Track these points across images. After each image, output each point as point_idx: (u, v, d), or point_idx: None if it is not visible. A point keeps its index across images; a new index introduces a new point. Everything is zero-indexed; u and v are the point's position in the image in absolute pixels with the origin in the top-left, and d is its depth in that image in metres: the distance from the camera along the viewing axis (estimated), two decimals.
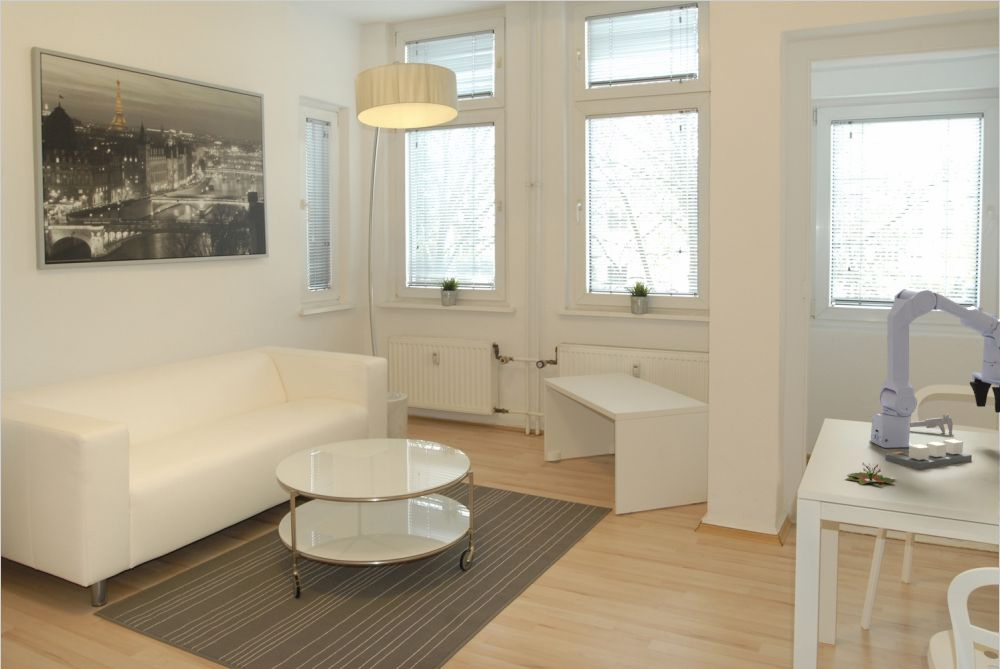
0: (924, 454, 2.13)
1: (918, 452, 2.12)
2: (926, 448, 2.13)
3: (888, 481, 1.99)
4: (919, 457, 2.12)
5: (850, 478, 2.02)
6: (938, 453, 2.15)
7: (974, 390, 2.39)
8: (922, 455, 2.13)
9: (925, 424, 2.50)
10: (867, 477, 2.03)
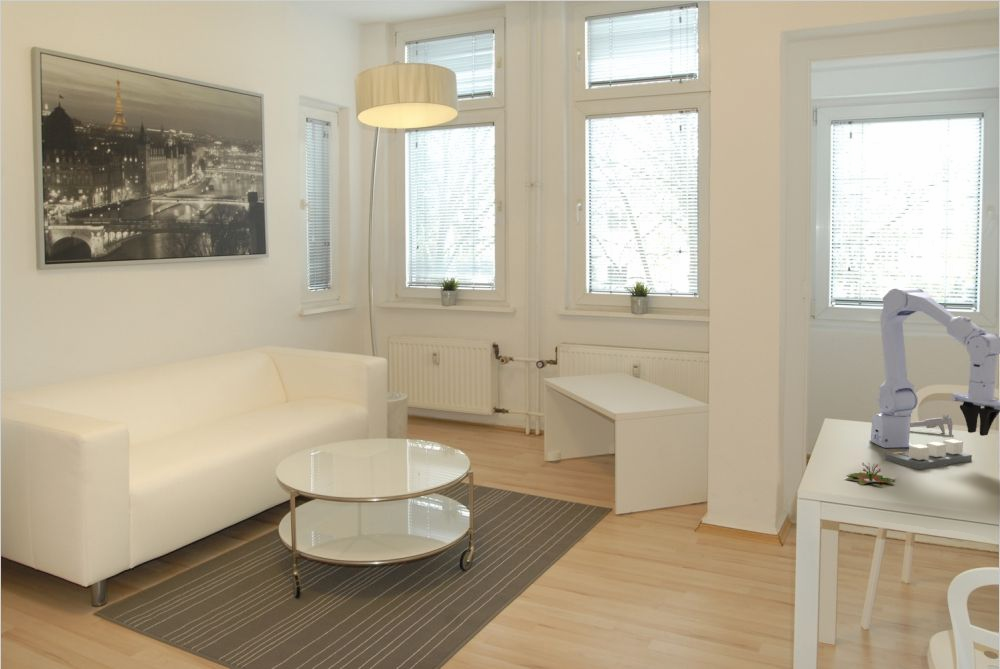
0: (924, 454, 2.13)
1: (918, 452, 2.12)
2: (926, 448, 2.13)
3: (888, 481, 1.99)
4: (919, 457, 2.12)
5: (850, 478, 2.02)
6: (938, 453, 2.15)
7: (966, 415, 2.14)
8: (922, 455, 2.13)
9: (925, 424, 2.50)
10: (867, 477, 2.03)
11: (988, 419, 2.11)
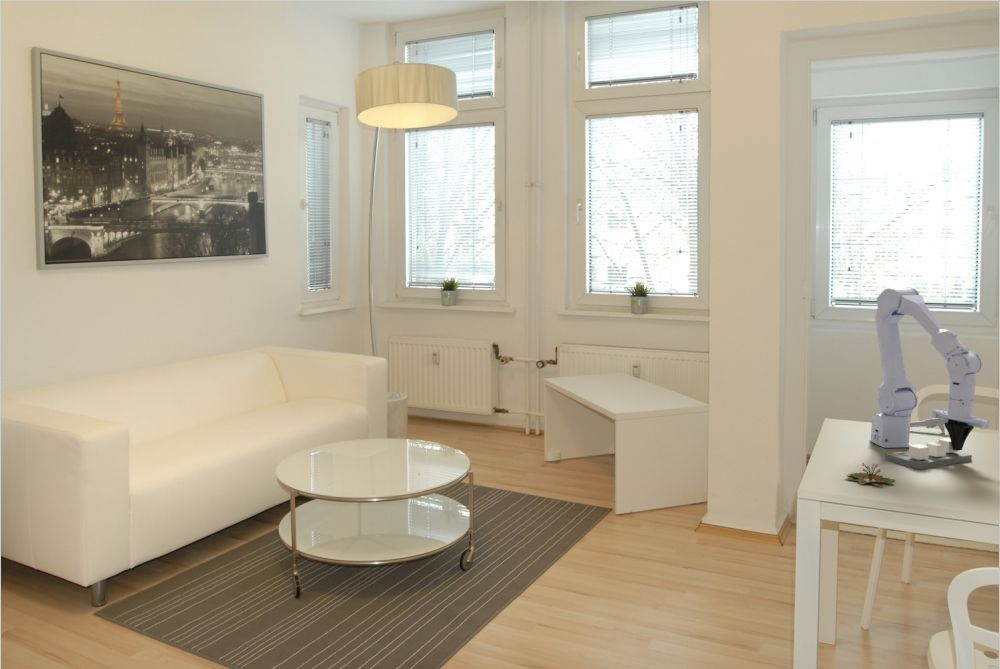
0: (924, 454, 2.13)
1: (918, 452, 2.12)
2: (926, 448, 2.13)
3: (888, 481, 1.99)
4: (919, 457, 2.12)
5: (850, 478, 2.02)
6: (938, 453, 2.15)
7: (950, 432, 2.18)
8: (922, 455, 2.13)
9: (925, 424, 2.50)
10: (867, 477, 2.03)
11: (962, 435, 2.18)
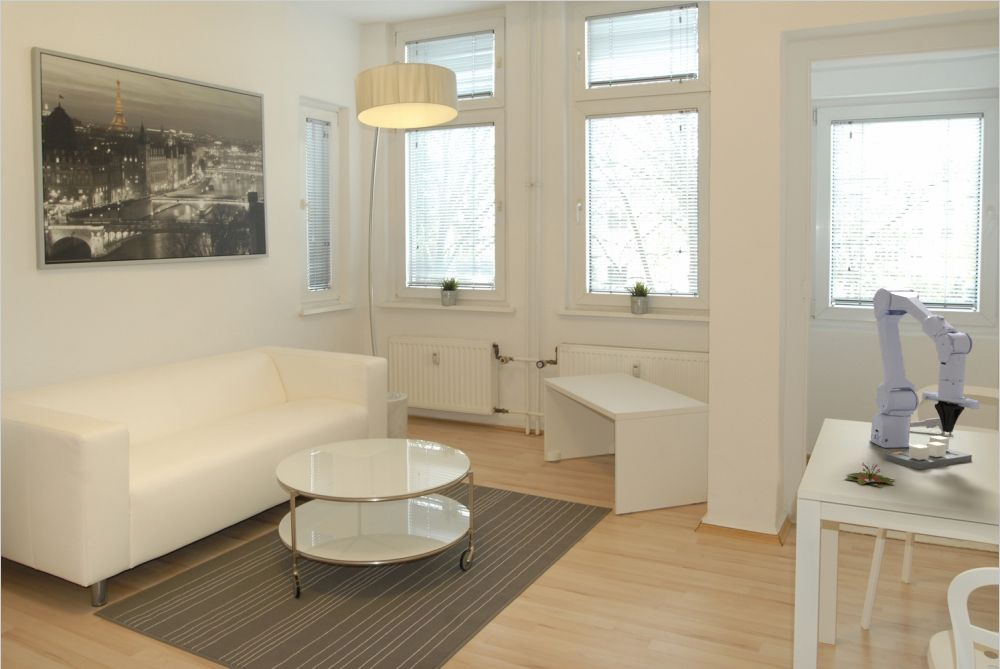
0: (924, 454, 2.13)
1: (918, 452, 2.12)
2: (926, 448, 2.13)
3: (887, 481, 1.98)
4: (919, 457, 2.12)
5: (849, 478, 2.02)
6: (938, 453, 2.15)
7: (940, 414, 2.14)
8: (922, 455, 2.13)
9: (925, 424, 2.50)
10: (867, 477, 2.03)
11: (953, 416, 2.14)
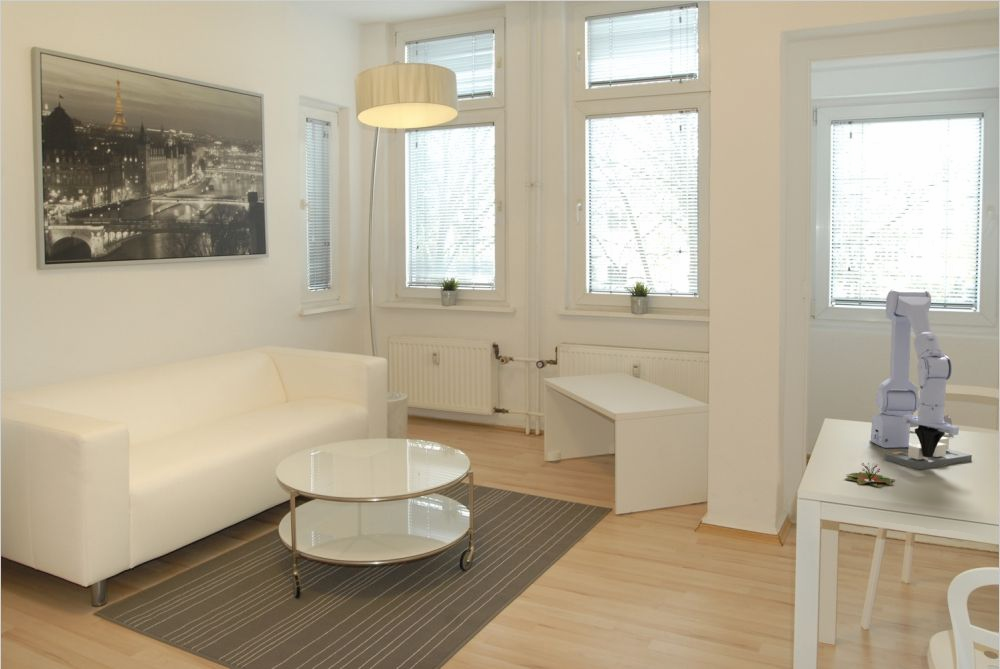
0: None
1: (917, 451, 2.12)
2: None
3: (887, 481, 1.98)
4: (918, 457, 2.12)
5: (849, 478, 2.02)
6: (938, 453, 2.15)
7: (920, 438, 2.11)
8: (921, 455, 2.13)
9: None
10: (866, 477, 2.03)
11: (933, 441, 2.11)
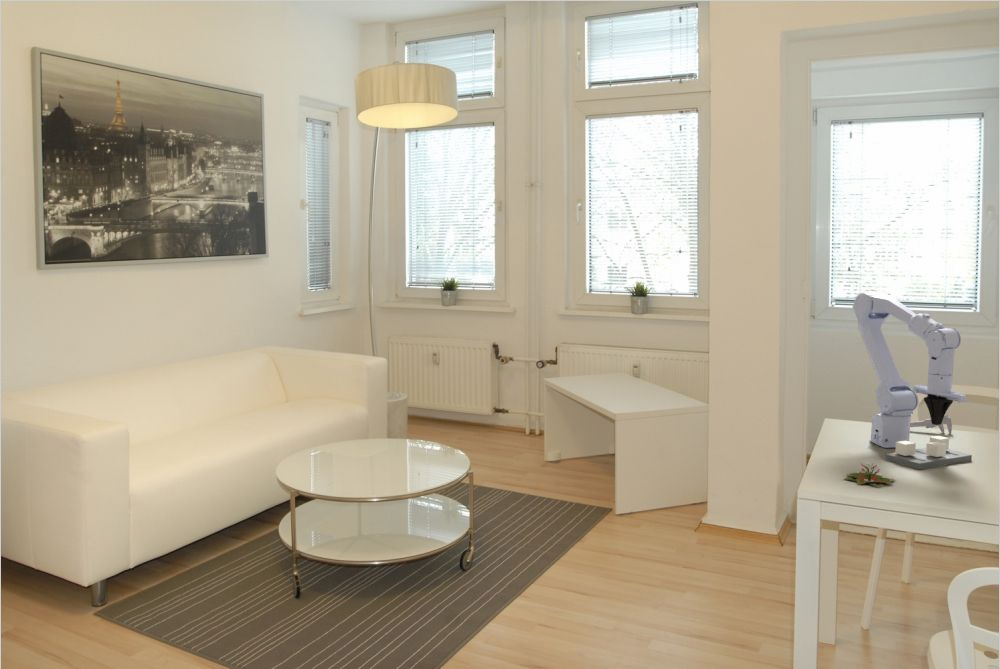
0: (911, 450, 2.17)
1: (904, 448, 2.16)
2: (912, 444, 2.17)
3: (887, 481, 1.98)
4: (905, 454, 2.16)
5: (849, 478, 2.02)
6: (938, 453, 2.15)
7: (929, 407, 2.21)
8: (908, 451, 2.16)
9: (924, 424, 2.50)
10: (866, 477, 2.02)
11: (941, 409, 2.20)
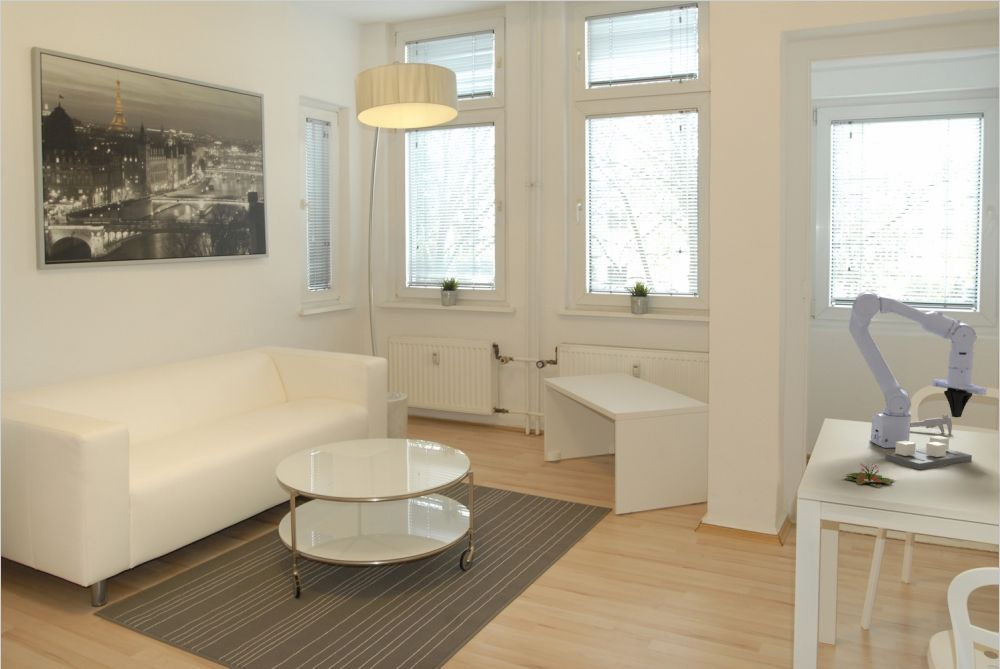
0: (911, 450, 2.17)
1: (904, 448, 2.16)
2: (912, 444, 2.17)
3: (886, 481, 1.98)
4: (905, 454, 2.16)
5: (848, 478, 2.02)
6: (938, 453, 2.15)
7: (949, 400, 2.28)
8: (908, 451, 2.16)
9: (924, 424, 2.50)
10: (866, 477, 2.02)
11: (961, 402, 2.27)
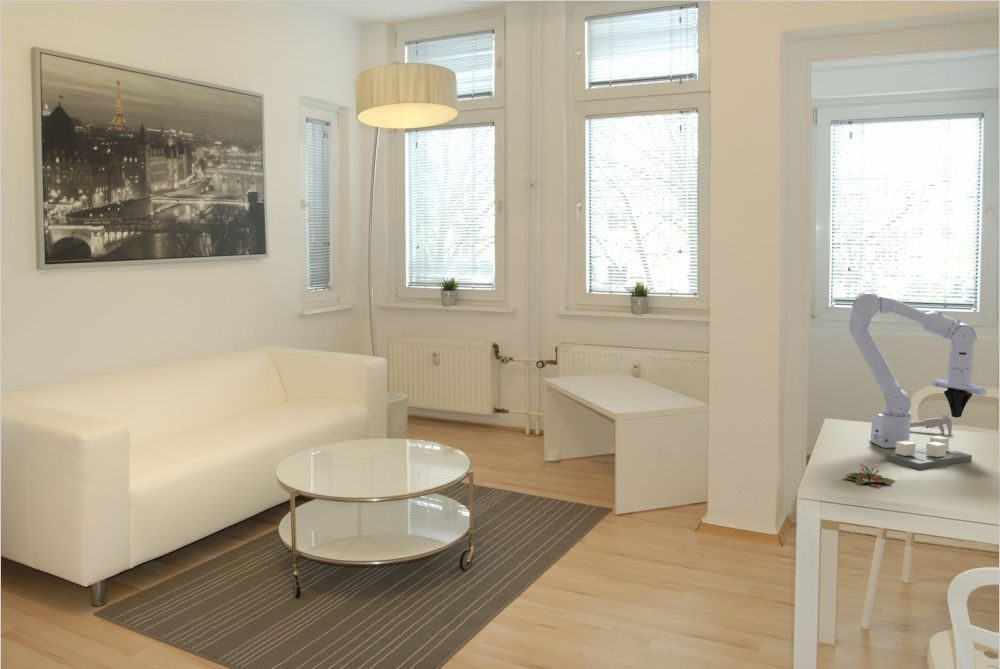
0: (911, 450, 2.17)
1: (904, 448, 2.16)
2: (912, 444, 2.17)
3: (886, 481, 1.98)
4: (905, 454, 2.16)
5: (848, 478, 2.02)
6: (938, 453, 2.15)
7: (949, 400, 2.28)
8: (908, 451, 2.16)
9: (924, 424, 2.50)
10: (866, 477, 2.02)
11: (961, 402, 2.27)
